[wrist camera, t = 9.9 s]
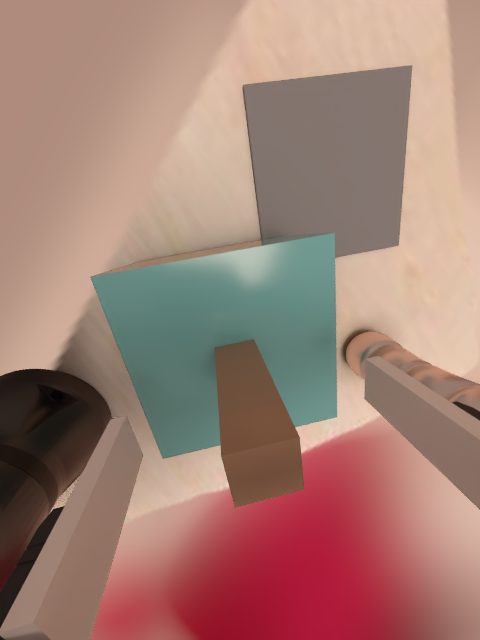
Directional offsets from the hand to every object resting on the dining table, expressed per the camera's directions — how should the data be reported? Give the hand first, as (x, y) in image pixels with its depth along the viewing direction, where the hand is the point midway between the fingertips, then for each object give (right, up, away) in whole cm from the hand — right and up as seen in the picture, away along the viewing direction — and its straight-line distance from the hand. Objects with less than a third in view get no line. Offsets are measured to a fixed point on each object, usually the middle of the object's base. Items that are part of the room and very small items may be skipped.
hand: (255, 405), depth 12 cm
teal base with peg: (-2, +5, +15) cm, 16 cm away
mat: (+9, +20, +12) cm, 25 cm away
